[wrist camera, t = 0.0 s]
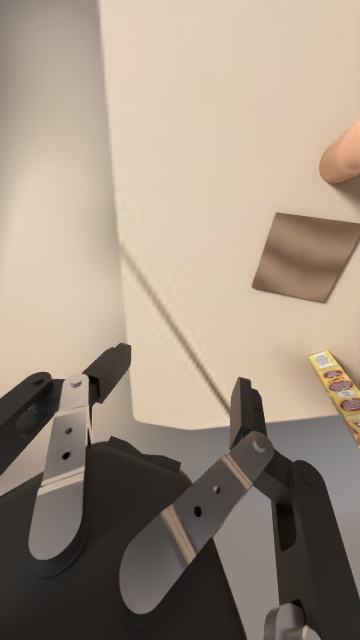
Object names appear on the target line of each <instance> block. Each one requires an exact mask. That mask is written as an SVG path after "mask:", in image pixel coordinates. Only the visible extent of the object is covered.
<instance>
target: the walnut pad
mask: <svg viewBox="0 0 360 640" xmlns="http://www.w3.org/2000/svg"><path fill="white" fill-rule="evenodd" d="M359 236H360V224H359V223H352V222H344V221H337V220H329V219H321V218H314V217H306V216H299V215H291V214H284V213H276V214H275V217H274V220H273V223H272V226H271V229H270V232H269V235H268V238H267V241H266V244H265V247H264V250H263V253H262V256H261V259H260V262H259V265H258V269H257V272H256V275H255V278H254V281H253V284H252V288H255V289H260V290H265V291H270V292H275V293H280V294H285V295H290V296H295V297H300V298H305V299H310V300H315V301H320V302H324V301H325V299H326V297H327V295H328V293H329V291H330V290H331V288H332V286H333V284H334V282H335V280H336V279H337V277H338V275H339V273H340V271H341V269H342V268H343V266H344V264H345V262H346V260H347V258H348V257H349V255H350V253H351V251H352V249H353V247H354V246H355V244H356V242H357V240H358V238H359Z"/></svg>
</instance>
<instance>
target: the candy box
mask: <svg viewBox="0 0 360 640" xmlns="http://www.w3.org/2000/svg"><path fill="white" fill-rule="evenodd" d="M308 358H309V360H310V362H311V364H312V366H313V367H314V369H315V371H316V373H317V375H318V377H319V379H320V381H321V383H322V384H323V386H324V388H325V390H326V392H327V393H328V395H329V397H330V399H331V400H332V402H333V404H334V406H335V407H336V409H337V411H338V413H339V414H340V416H341V418H342V420H343V421H344V423H345V425H346V426H347V428H348V430H349V431H350V433H351V435H352V437H353V438H354V440H355V442H356V443H357V445H358V447H359V449H360V391H359V389H358V388H357V387H356V386H355V384H354V383H353V382H352V381H351V379H350V378H349V377H348V376H347V374H346V373H345V372H344V370H343V369H342V368H341V367H340V365H339V364H338V363H337V362H336V360H335V359H334V358H333V356H332V355H331V354H330V352H329V351H324V352H321V353H318V354H315V355H312V356H309V357H308Z"/></svg>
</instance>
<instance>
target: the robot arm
mask: <svg viewBox="0 0 360 640" xmlns="http://www.w3.org/2000/svg"><path fill="white" fill-rule="evenodd" d="M130 364H131V345H128V344H124V343H120V344H118V345H117V346H116V347H115V348H113V347H112V348H110V349H108V350H106V351H105V352H104V353H103V354H101V356H99V357H98V358H97V360H95V361H94V362H93V363H92V364H91V365H90V366H89V367H88V368H87V369H86V370H85V371H84V372H82V373H81V374H75V375H72V376H70V377H68V378H67V379H52V377H51V375H50V374H49V373H47V372H38V373H35V374H32V375H31V376H29V377H27V378H26V379H25V380H23V381H22V382H21V383H20V384H18V385H17V386H16V387H15V388H13V389H12V390H11V391H9V392H8V393H7V394H5V395H4V396H3V397H2V398H1V399H0V476H1V475H2V474H3V472H4V471H5V470H6V469H7V468H8V467H9V466H10V464H11V463H12V462H13V461H14V460H15V459H16V458H17V457H18V456H19V454H20V453H21V452H22V451H23V450H24V449H25V448H26V446H27V445H28V444H29V443H30V442H31V441H32V440H33V439H34V437H35V436H36V435H37V434H38V433H39V432H40V431H41V430H42V428H43V427H44V426H45V425H46V424H47V423H48V422H49V420H50V419H51V418H52V417H53V416H54V420H53V425H52V430H51V436H50V441H49V446H48V452H47V458H46V463H45V469H44V471H43V472H41V473H40V474H38V475H36V476H35V477H33V478H31V479H30V480H28V481H26V482H24V483H22V484H21V485H19V486H18V487H16V488H14V489H12V490H10V491H9V492H7V493H5V494H3V495H2V496H0V640H247V637H246V633H245V630H244V627H243V624H242V621H241V618H240V615H239V612H238V609H237V607H236V604H235V601H234V598H233V595H232V592H231V589H230V586H229V583H228V580H227V578H226V575H225V572H224V569H223V566H222V563H221V560H220V557H219V554H218V551H217V548H216V546H215V543H214V540H213V537H214V536H215V534H216V533H217V532H218V530H219V529H220V528H221V526H222V525H223V524H224V522H225V521H226V520H227V518H228V517H229V516H230V514H231V513H232V512H233V510H234V509H235V508H236V506H237V505H238V504H239V502H240V501H241V500H242V499H243V497H244V496H245V495H246V493H247V492H248V491H249V490H250V488H251V487H252V486H254V487H256V488H257V489H258V490H259V491H261V492H262V493H263V494H265V495H266V496H267V497H268V498H270V499H271V507H272V519H273V531H274V543H275V556H276V567H277V580H278V592H279V605H280V606H278V607H275V608H273V609H271V610H270V611H269V612H268V614H267V615H266V618H265V623H264V638H263V640H360V598H359V595H358V591H357V588H356V585H355V582H354V578H353V575H352V571H351V568H350V565H349V561H348V558H347V555H346V552H345V548H344V545H343V541H342V538H341V535H340V532H339V528H338V525H337V521H336V518H335V515H334V511H333V508H332V505H331V501H330V498H329V495H328V491H327V488H326V485H325V482H324V480H323V478H322V476H321V475H320V473H319V472H318V471H317V470H316V469H315V468H314V467H313V466H312V465H311V464H309V463H307V462H305V461H303V460H296V461H295V462H292V461H291V460H289V459H288V458H286V457H284V456H283V455H281V454H280V453H279V452H278V451H276V450H275V449H274V447H273V444H272V443H271V441H270V440H269V439H268V437H267V432H266V425H265V418H264V412H263V406H262V399H261V396H260V394H259V393H258V391H257V390H255V389H252V388H251V380H249V379H245V378H242V377H238V379H237V382H236V385H235V387H234V390H233V392H232V396H231V414H230V450H231V451H230V452H229V453H228V454H227V455H223V456H221V457H220V458H219V459H218V460H217V461H216V462H215V463H214V464H213V465H212V466H211V467H210V468H209V469H208V470H207V471H206V472H205V473H204V474H203V475H202V476H201V477H199V478H198V479H197V480H196V481H195V482H194V483H192V481H191V480H190V479H189V478H188V476H187V475H186V474H185V473H184V472H183V471H182V470H181V469H180V465H181V462H178V461H176V460H173V459H170V458H168V457H165V456H161V455H147V454H142V453H141V452H139V451H138V450H137V449H136V448H134V447H133V446H132V445H131V444H129V443H128V442H126V441H123V440H121V439H118V438H116V437H113V436H111V437H110V439H109V441H104V442H97V443H94V444H93V405H94V404H95V402H98V403H101V404H102V403H103V401H104V400H105V399H106V398H107V396H108V395H109V394H110V392H111V391H112V390H113V388H114V387H115V386H116V384H117V383H118V382H119V380H120V379H121V378H122V376H123V375H124V374H125V373H126V371H127V370H128V368H129V367H130ZM30 407H31V408H30Z"/></svg>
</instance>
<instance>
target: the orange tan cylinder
mask: <svg viewBox="0 0 360 640" xmlns="http://www.w3.org/2000/svg"><path fill="white" fill-rule="evenodd" d="M319 171H320V175H321V177H322V178H323V180H325V181H326V182H328V183H340V182H343V181H345V180H348V179H350V178H352V177H355V176H357V175H359V174H360V119H359V120H358V121H357V122H356V123H355V124H354V125H352V126H351V127H350V128H349V129H348V130H347V131H346V132H344V133H343V134H342V135H341V136H340V137H339V138H338V139H336V140H335V141H334V142H333V143H332V144H331V145H330V146H329V147H328V148H327V149H326V151H325V152H324V154H323V156H322V158H321V161H320V166H319Z"/></svg>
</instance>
